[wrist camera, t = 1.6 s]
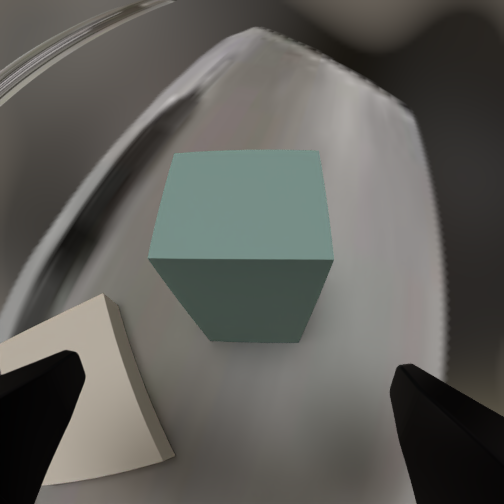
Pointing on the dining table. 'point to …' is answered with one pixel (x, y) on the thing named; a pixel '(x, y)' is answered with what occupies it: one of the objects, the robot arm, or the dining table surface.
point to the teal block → (245, 241)
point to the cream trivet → (95, 393)
